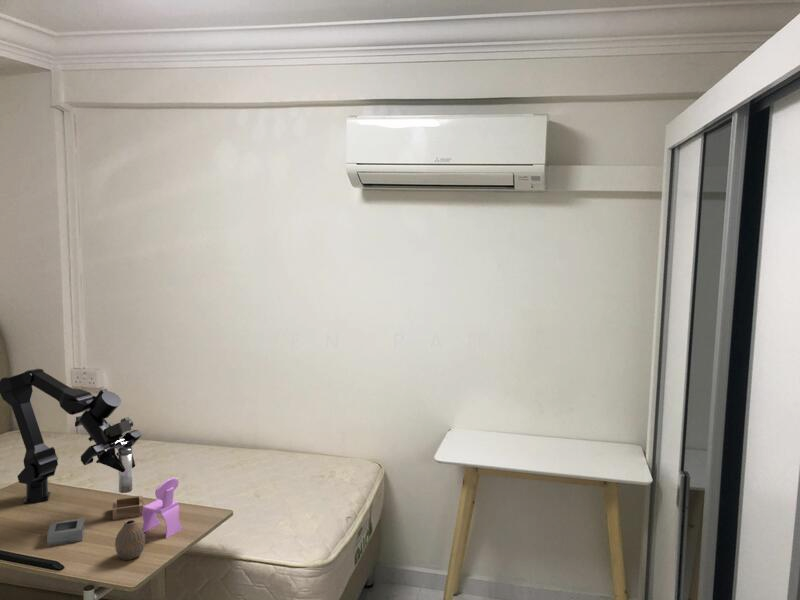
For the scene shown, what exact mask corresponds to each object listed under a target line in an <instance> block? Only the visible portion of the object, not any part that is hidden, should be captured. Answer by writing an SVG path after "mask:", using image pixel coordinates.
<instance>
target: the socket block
mask: <svg viewBox="0 0 800 600" xmlns="http://www.w3.org/2000/svg"><path fill="white" fill-rule="evenodd" d="M84 532H85V517H79V518H72V519H66V520H65V519H64V520H59V521H58V520H57V521H53V522H52V521H51V522H50V523H49V528H48V530H47V533H46V534H47V535H46V539H47V540H46V542H47V544H46V545H47V547H51V546H58V545H65V544H69V542H71V543H77V542H82V541H83V540H84V539H83V538H84V534H85V533H84ZM64 543H65V544H64Z"/></svg>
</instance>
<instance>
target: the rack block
mask: <svg viewBox="0 0 800 600" xmlns="http://www.w3.org/2000/svg"><path fill="white" fill-rule="evenodd" d="M143 497H144V496H143V495H138V496H137V495H136V496H128V497H122V498H115V499H113V500H112V521H115V520H121V519H122V518H123V519H129V518H128V517H130V518H135V516H137V517H143V515H142V510H143V506H144V498H143Z"/></svg>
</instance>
